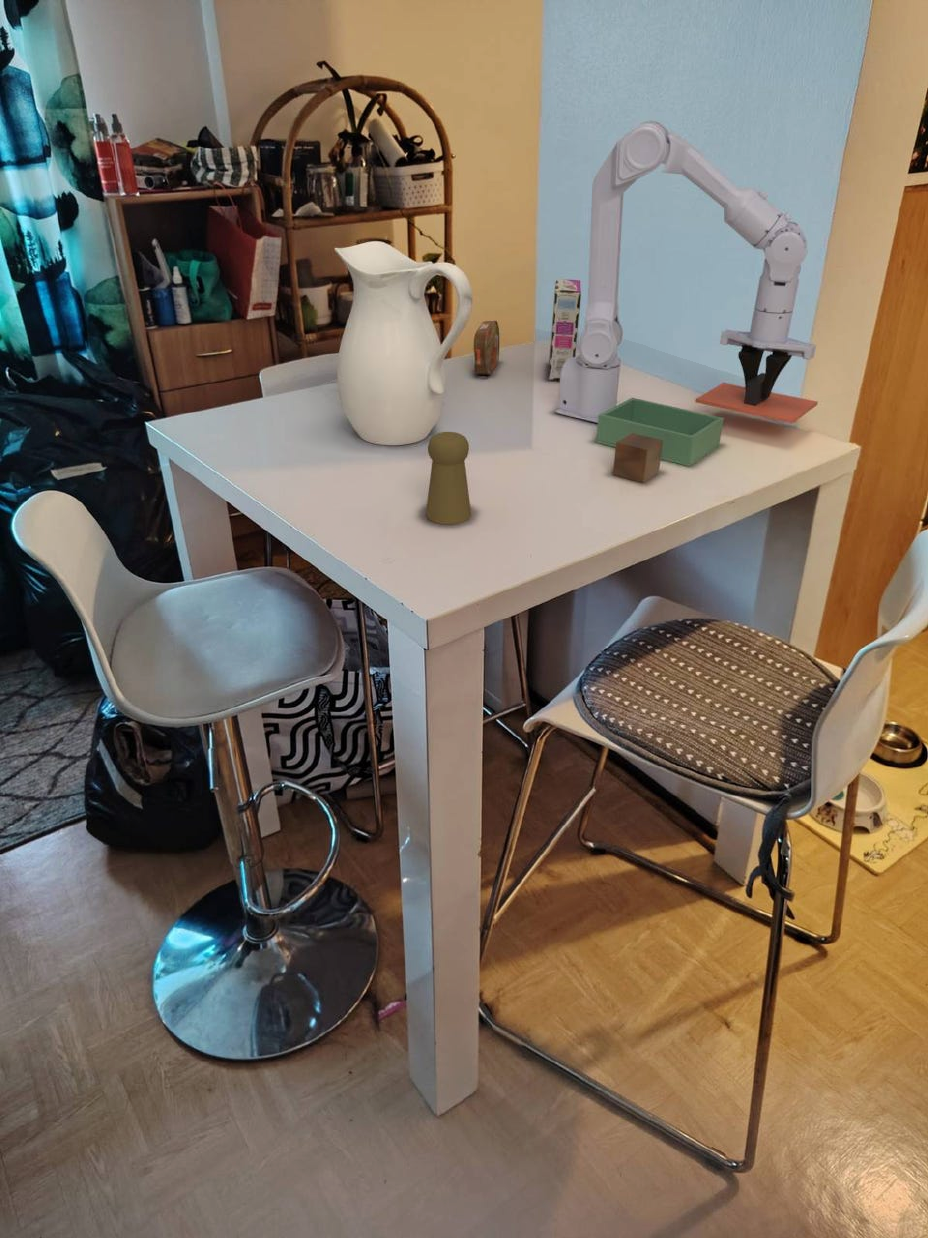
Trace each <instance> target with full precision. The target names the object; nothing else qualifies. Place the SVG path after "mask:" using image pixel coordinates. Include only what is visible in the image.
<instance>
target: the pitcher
mask: <svg viewBox="0 0 928 1238" xmlns="http://www.w3.org/2000/svg"><path fill="white" fill-rule="evenodd" d="M333 249H334V251H335V253H336V254H337V255H338V257H339V258H340V259H341V261H342V262H343V264H344V265H345V267H346V268H347V270H348V272H349V274H350V276H351V279H352V284H353V295H352V296H353V297H352V304H351V307H350V312H349V315H348V319H347V321H346V324H345V328H344V332H343V335H342V338H341V342H340V345H339V352H338V357H337V365H336V366H337V367H336V368H337V369H336V381H337V391H338V396H339V400H340V403H341V407H342V409H343V411H344V413H345V416H346V417H347V419H348V421H349V424H350V425H351V426H352V428H353V430H354V431H355V432H356V434H357V435H358V436H359V437H360V438H361V439H362V440H364V441H365V442H368V443H370V444H374V445H380V446H405V445H409V444H416V443H418V442H421V441H422V440H424V439H426V438H427V437H428V436H429V435H430V433H431V431H432V430H433V428H434V426H435V425H436V423H437V421H438V419H439V416H440V414H441V412H442V410H443V406H444V402H445V398H446V392H447V391H446V390H447V368H446V367H447V366H446V360H445V357H446V356H447V354H448V353H449V352H450V350H451V348H452V347H453V346H454V344H455V343H456V342H457V340H458V338H459V337H460V336H461V334H462V332H463V331H464V329H465V327H466V325H467V323H468V321H469V319H470V317H471V312H472V308H473V291H472V287H471V284H470V281H469V279H468V277H467V275H466V274H465V273H464V271H463V270H462V269H461V268H460V267H458V266H457V265H455V264H453V263H449V262H442V261H441V262H435V263H434V262H432V261H424V262H418V261H415V260H413V259H412V258H410V257H408V256H407V255H405V253H403V252H401V251H399V250H398V249H397V248H395V247H394V246H392V245H390V244H388V243H386V242H384V241H379V240H374V241H366V242H362V243H358V244H355V245H352V246H347V247H334V248H333ZM437 275H440V276H442V277H444V278H446V279H447V280H448V281H450V283H451V284H452V285H453V288H454V289H455V291H456V295H457V309H456V310H457V311H456V314H455V319H454V321H453V324H452V326H451V327H450V329H449V331H448V333H447V334H446V336H445V338H444V340H443V341H442V343H441V341H440V338H439V334H438V332H437V330H436V327H435V323H434V322H433V319H432V316H431V313H430V311H429V308H428V306H427V301H426V298H425V292H426V287H427V285H428V283H429V282H430V281H431V280H432V279H433V278H434V277H436V276H437Z"/></svg>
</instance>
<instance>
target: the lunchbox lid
mask: <svg viewBox="0 0 928 1238" xmlns="http://www.w3.org/2000/svg"><path fill="white" fill-rule="evenodd" d="M764 380H765V373H764V372H760V373H758V375H757V376H756V377H754V378H753V379H751V380H749V381H748V382H747V388H746V389H745V386H742V385H738V384H734V383H733V384H732V383H727V382H722V383H720V384H718V385H717V386H715V387H713V388H712V389H710V390H708V391H706V392H705V393H703V394H701V395H699V396H698V397H696V398H695V400H694V403H697V404H701V405H705V406H710V407H715V408H719V409H723V410H724V409H725V410H729V411H732V412H733V411H734V412H737V413H743V414H747V415H752V416H757V417H760V418H761V417H762V418H765V419H766V418H767V419H770V420H775V421H780V422H784V423H789V424H794V423H795V422H797V421H798V420H800V419H801V418H802V417H804V416H805V415H806V414H807V413H809V412H810V411H811V410H813V409H814V408H815V407H816V406H817V405H818V403H819V401H817V400H812V399H807V398H803V397H797V396H792V395H788V394H782V393H777V392H772V391H771V394H770V397H768V398H767V399H761V395H762V388H763V384H764Z"/></svg>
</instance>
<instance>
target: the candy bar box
mask: <svg viewBox="0 0 928 1238" xmlns="http://www.w3.org/2000/svg"><path fill="white" fill-rule="evenodd" d="M554 283H555V284H554V292H553V293H554V294H553V306H552V318H551V319H552V321H551V333H550V334H551V335H550V346H549V347H550V349H549V361H548V381H554V382H555V381H557V382H560V375H561V370H562V368H563V365H564V363H565V362H566V361H567V360H568V359H569V358H571V357H576V356H577V348H578V337H579V336H578V335H579V334H578V333H579V323H580V314H581V313H580V312H581V300H582V289H581V288H582V285H581V284H582V283H581V280H579V279H561V278H560V279H557V278H556V279H555V282H554Z"/></svg>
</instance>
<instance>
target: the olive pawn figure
mask: <svg viewBox="0 0 928 1238" xmlns="http://www.w3.org/2000/svg"><path fill="white" fill-rule="evenodd" d="M469 451H470V445H469V441H468V439H467V438H466V437H465V435H463V434H461V433H459V432H454V431H441V432H438V433H435V434H433V435H432V436H431V437H430V439H429V441H428V445H427V453H428V456H429V458H430V460H432V461H431V462H432V463H431V470H430V477H429V486H428V492H427V493H428V495H427V500H426V509H425V517H426V519H427V520H429V521H430V522H432V523H435V524H439V525H458V524H462V523H465V522H467V521H468V520H469V519H471V517H472V510H471V509H472V508H471V503H470V501H471V500H470V494H469V486H468V479H467V478H468V477H467V471H466V463H465V461H466V459H467V458H468V456H469Z"/></svg>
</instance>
